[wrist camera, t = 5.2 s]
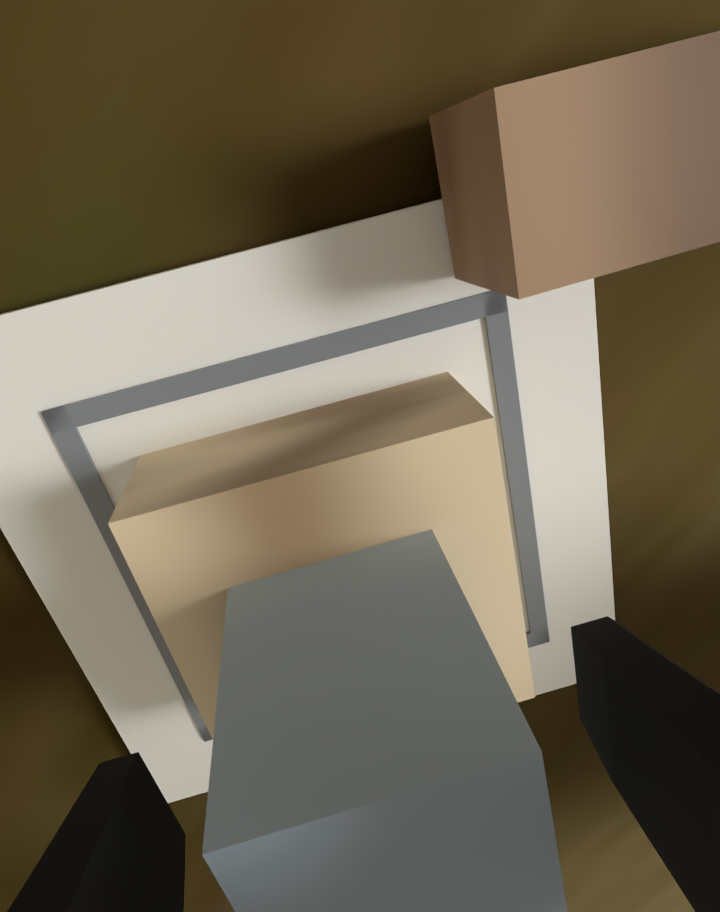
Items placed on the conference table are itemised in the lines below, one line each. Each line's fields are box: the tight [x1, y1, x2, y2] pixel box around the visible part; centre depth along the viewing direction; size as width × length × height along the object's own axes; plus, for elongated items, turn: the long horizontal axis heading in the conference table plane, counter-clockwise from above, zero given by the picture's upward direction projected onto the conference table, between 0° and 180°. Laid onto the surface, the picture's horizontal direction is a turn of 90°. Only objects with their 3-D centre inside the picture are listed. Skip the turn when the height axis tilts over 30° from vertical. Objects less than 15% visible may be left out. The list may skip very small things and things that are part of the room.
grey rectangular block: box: [202, 529, 568, 912], centre depth 10 cm, size 4×4×5 cm
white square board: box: [0, 199, 615, 803], centre depth 15 cm, size 14×14×1 cm
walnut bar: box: [429, 31, 720, 299], centre depth 11 cm, size 8×3×3 cm, turn 104°
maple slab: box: [108, 372, 535, 739], centre depth 13 cm, size 7×7×3 cm
